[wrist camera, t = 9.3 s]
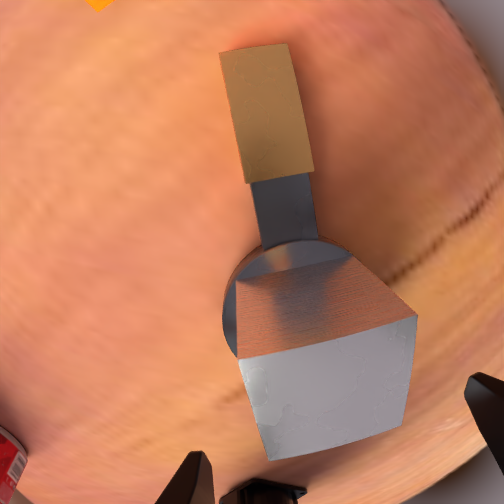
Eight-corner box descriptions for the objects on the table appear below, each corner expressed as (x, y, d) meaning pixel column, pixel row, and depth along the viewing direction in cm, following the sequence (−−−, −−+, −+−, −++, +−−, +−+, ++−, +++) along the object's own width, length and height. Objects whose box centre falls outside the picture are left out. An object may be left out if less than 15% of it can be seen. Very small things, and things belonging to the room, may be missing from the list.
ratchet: (367, 346, 17) (396, 392, 13) (240, 375, 17) (243, 429, 13) (329, 50, 12) (363, 16, 8) (169, 75, 12) (143, 44, 8)
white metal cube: (352, 255, 14) (417, 314, 8) (357, 349, 16) (401, 425, 10) (236, 280, 14) (237, 360, 8) (258, 372, 16) (268, 461, 10)
